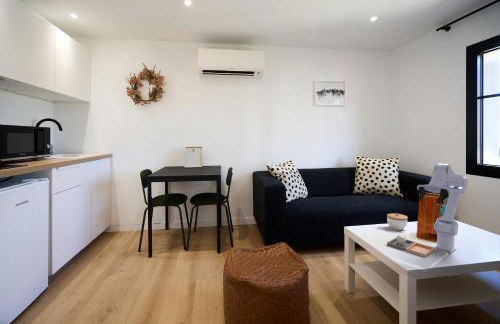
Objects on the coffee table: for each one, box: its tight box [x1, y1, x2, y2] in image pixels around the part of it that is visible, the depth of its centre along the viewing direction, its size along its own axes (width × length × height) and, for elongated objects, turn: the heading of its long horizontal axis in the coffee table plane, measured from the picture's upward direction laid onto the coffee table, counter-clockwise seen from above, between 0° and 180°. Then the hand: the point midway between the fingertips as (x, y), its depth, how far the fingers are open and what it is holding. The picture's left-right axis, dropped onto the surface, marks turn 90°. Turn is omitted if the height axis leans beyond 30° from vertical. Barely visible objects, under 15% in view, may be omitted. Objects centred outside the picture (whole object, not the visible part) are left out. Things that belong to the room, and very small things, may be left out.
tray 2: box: [405, 241, 436, 258], centre depth 140 cm, size 14×10×2 cm
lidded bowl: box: [386, 212, 408, 231], centre depth 177 cm, size 13×13×11 cm
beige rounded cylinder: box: [396, 234, 407, 246], centre depth 148 cm, size 4×4×5 cm
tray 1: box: [386, 237, 416, 252], centre depth 148 cm, size 14×10×2 cm
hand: (428, 201), depth 124 cm, fingers open, 7 cm apart
